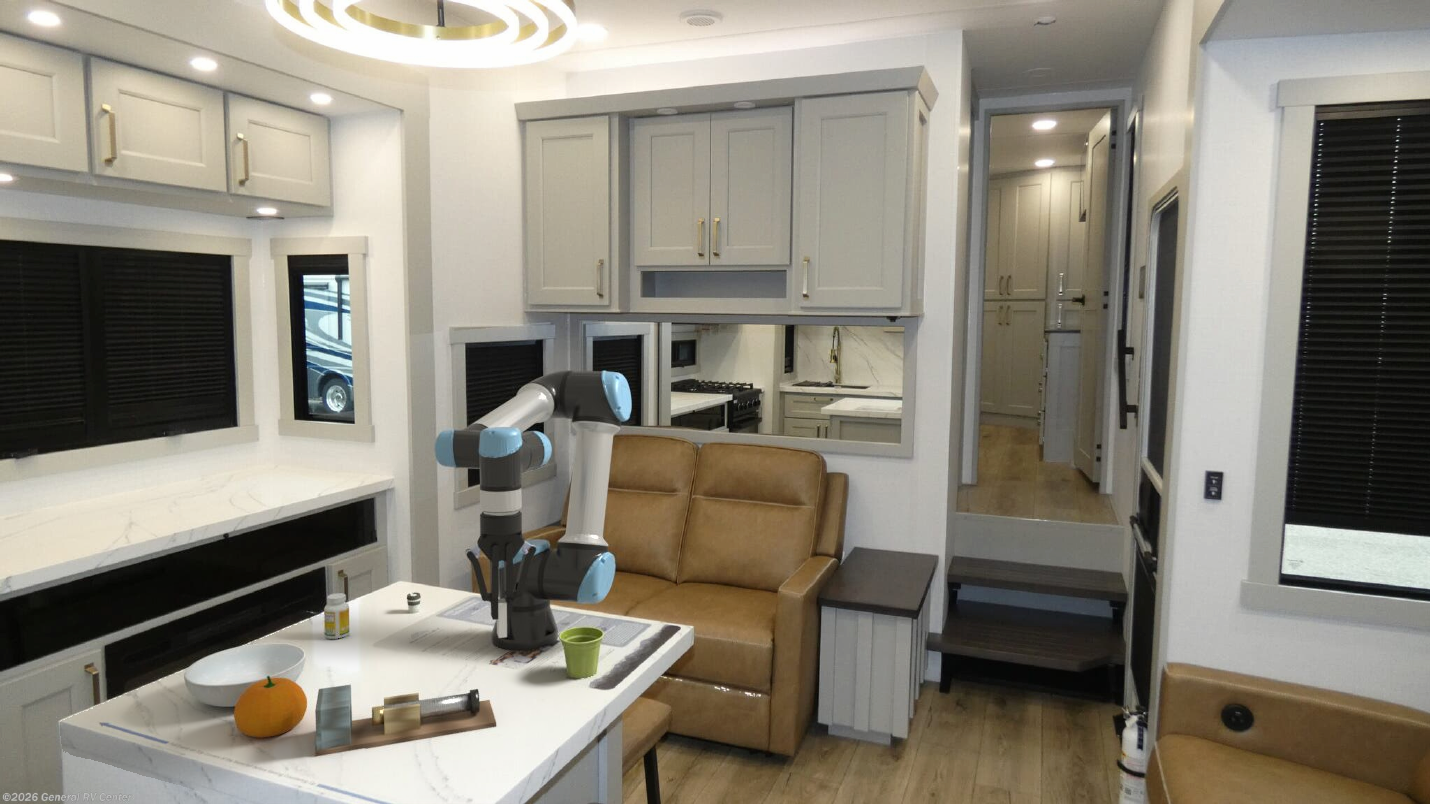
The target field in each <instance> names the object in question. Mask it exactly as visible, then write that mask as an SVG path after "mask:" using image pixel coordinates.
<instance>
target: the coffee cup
mask: <svg viewBox="0 0 1430 804" xmlns="http://www.w3.org/2000/svg"><path fill="white" fill-rule="evenodd" d="M421 596H422V595H421V593H419V592H410V593H408V594H407V596H406V600H407V601H406V603H407V607H408V613H409V614H412V615H413V614H417V613H419V612H420V604H421Z"/></svg>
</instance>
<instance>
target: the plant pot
mask: <svg viewBox="0 0 1430 804" xmlns="http://www.w3.org/2000/svg"><path fill="white" fill-rule="evenodd" d="M604 637H605V632H604V631H603V630H602V629H601V628H597V627H593V626H577V627H572V628H568V629H565V630H563V631H561V632H560V633H559V634H558V638H559V640H560V642H561V645H562V647H563V653H564V659H565V665H566V671H567V672H566V673H567V675H568V677H570V678H573V679H574V678H575V679H579V680H581V678H584V679H589V678H592V677H594V676H595V675H596V674H597V672H598V666H599V665H598V664H599V658H600V657H599V656H600V649H601V644H602V642H603V641H602V640H603V638H604ZM591 676H592V677H591ZM588 677H589V678H588Z"/></svg>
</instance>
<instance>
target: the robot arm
mask: <svg viewBox="0 0 1430 804" xmlns="http://www.w3.org/2000/svg"><path fill="white" fill-rule="evenodd" d="M631 412H632V395H631V390H630V386H629V383H628V380H627V378H626V377H625V376H624V375H623V374H622V373H620V372H615V371H607V370H600V371H599V370H559V371H558V370H557V371H554V372H551V373H548V374H545V375H542V376H540V377H538V378H536V379H534V380H531V381H530V382H528V383H526V384H525V385H523V386H522V387H521V388H519V390H518V391H517V393H516V396H514V397H512V398H511V399H509V400H508V401H506V402H505V403H503V404H501V405H500V406H498V407H497V408H495V409H493V410H492V411H489V413H486V414H485V415H484V416H482V417H481V418H479V419H478V420H475V421H474V422H472V423H471V424H469V425H468V426H467V427H465V428H463V429H456V428H453V429H444V430H442V431H441V432H439V434H438V435H437V437H436V439H435V442H434V454H435V455H434V456H435V459H436V461H437V462H438V464H439V465H441V466H442V467H446V468H455V469H475V470H478V469H479V510H480V511H481V513H480V515H479V537H478V539H477V541H476V542H477V544H475V545H474V546H473V547H471V548H467V549H465V555H466V557H467V559H468V560H469V562H470V563H471V565H472V569H473V572H474V576H475V579H476V583H477V587H478V591H479V595H480V597H481V600H482V601H484V602H489V603H490V616H491V618H492V620H493V621H495V622H494V625H493V628H492V631H491V645H492V646H494V647H495V648H497V649H499V650H502V651H508V652H528V651H534V650H540V649H543V648H546V647H549V646H551V645H552V644H554V643H556V641H557V640H558V638H559V628H558V625H557V622H556V619H555V616H554V614H553V610H552V608H551V601H557V602H567V603H578V604H598V603H600V602H602V601H604V599H605V598H606V597H607V595H608V594H609V592H610V590H611V587H612V585H613V582H614V577H615V573H616V558H615V556H614V554H612V553H611V552H610V551H609V543H608V542H607V541H606V540H605V539H604V528H605V527H604V526H605V517H606V508H607V499H608V491H609V490H608V489H609V480H610V472H611V471H610V470H611V462H612V461H611V460H612V452H613V451H612V450H613V440H614V436H615V435H616V434H617V433H618V432H620V431H621V427H622V425H621V424H622V422H626V421H628V420H629V419H630V417H631V414H632V413H631ZM549 419H566V420H567V419H569V420H570V419H571V426H572V428H573V429H574V430H575V432H576V438H575V439H576V440H575V446H574V447H575V448H574V457H573V463H572V464H573V466H572V474H571V480H570V481H571V484H570V489H569V490H570V492H569V499H568V500H569V501H568V510H567V518H566V527H565V534H564V535H563V536H562V537H560V538H559V539H558V540H557V548H551V544H550V541H549V540H548V539H547V540H546V539H542V538H541V539H539V538H538V539H537V538H536V539H527V540H525V537H524V536H523V531H522V530H523V524H522V523H523V521H522V520H523V518H522V517H523V516H522V515H523V513H522V512H521V511H520V510H521V509H522V506H523V504H522V503H523V502H522V494H523V493H522V474H524V473H527V472H530V471H535V470H538V469H540V468H541V467H542V466H544V465H546V463H547V464H548V462H549V460H550V458H551V457H552V449H553V448H552V443H551V441H550V439H549V438H548V437H547V435H546V434H544V433H543V432H540V431H537V430H530V431H529V430H527V429H529V428H530V427H532V426H533V425H534V424H538V423H539V424H541V423H544V422H546V421H548V420H549ZM480 551H481V552H482V553H483V554H484V555H485V557H486V558H487V559H488V560H489V567H490V568H489V569H490V571H489V572H490V573H489V576H490V577H489V583H490V590H489V591H490V592H488V589H487V586H486V581H485V577H484V575H483V571H482V568H481V563H480V561H479V558H480V557H481V554H480Z"/></svg>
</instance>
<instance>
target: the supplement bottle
mask: <svg viewBox="0 0 1430 804" xmlns="http://www.w3.org/2000/svg"><path fill="white" fill-rule="evenodd" d="M346 600H347V596H346V594H345V593H341V592H340V593H339V592H335V593H331V594H329V595H327V597H326V603H327V604H326V605H325V606H324V609H323V614H324V615H323V619H324V620H323V622H324V623H323V626H324V637H325V638H326V639H329V640H339V639H343V638H345V637H347V636H348V635H349V634H350V606H349V604H348V602H346ZM342 637H343V638H342ZM338 638H339V639H338Z"/></svg>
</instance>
